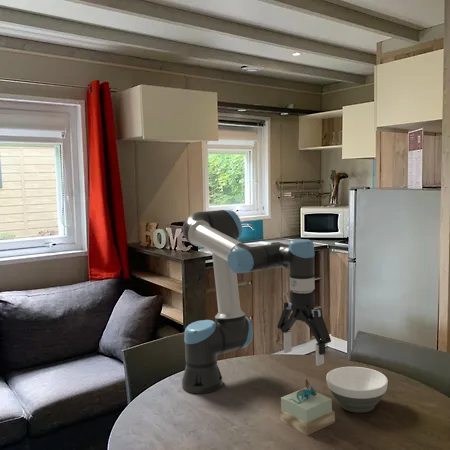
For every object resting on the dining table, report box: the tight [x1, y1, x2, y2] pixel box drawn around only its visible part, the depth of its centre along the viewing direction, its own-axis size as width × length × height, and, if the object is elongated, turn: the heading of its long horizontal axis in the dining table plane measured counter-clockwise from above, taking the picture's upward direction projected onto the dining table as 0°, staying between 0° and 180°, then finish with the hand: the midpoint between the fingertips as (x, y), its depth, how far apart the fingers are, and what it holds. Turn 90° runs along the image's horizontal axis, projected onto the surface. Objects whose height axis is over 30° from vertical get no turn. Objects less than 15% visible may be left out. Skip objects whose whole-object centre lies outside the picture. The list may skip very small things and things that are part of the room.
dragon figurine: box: [289, 378, 318, 404], centre depth 149 cm, size 6×7×8 cm
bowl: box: [325, 366, 389, 414], centre depth 159 cm, size 20×20×10 cm
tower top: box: [280, 387, 333, 423], centre depth 150 cm, size 11×11×4 cm
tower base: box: [279, 408, 336, 436], centre depth 150 cm, size 12×12×4 cm
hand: (303, 357), depth 149 cm, fingers open, 13 cm apart
